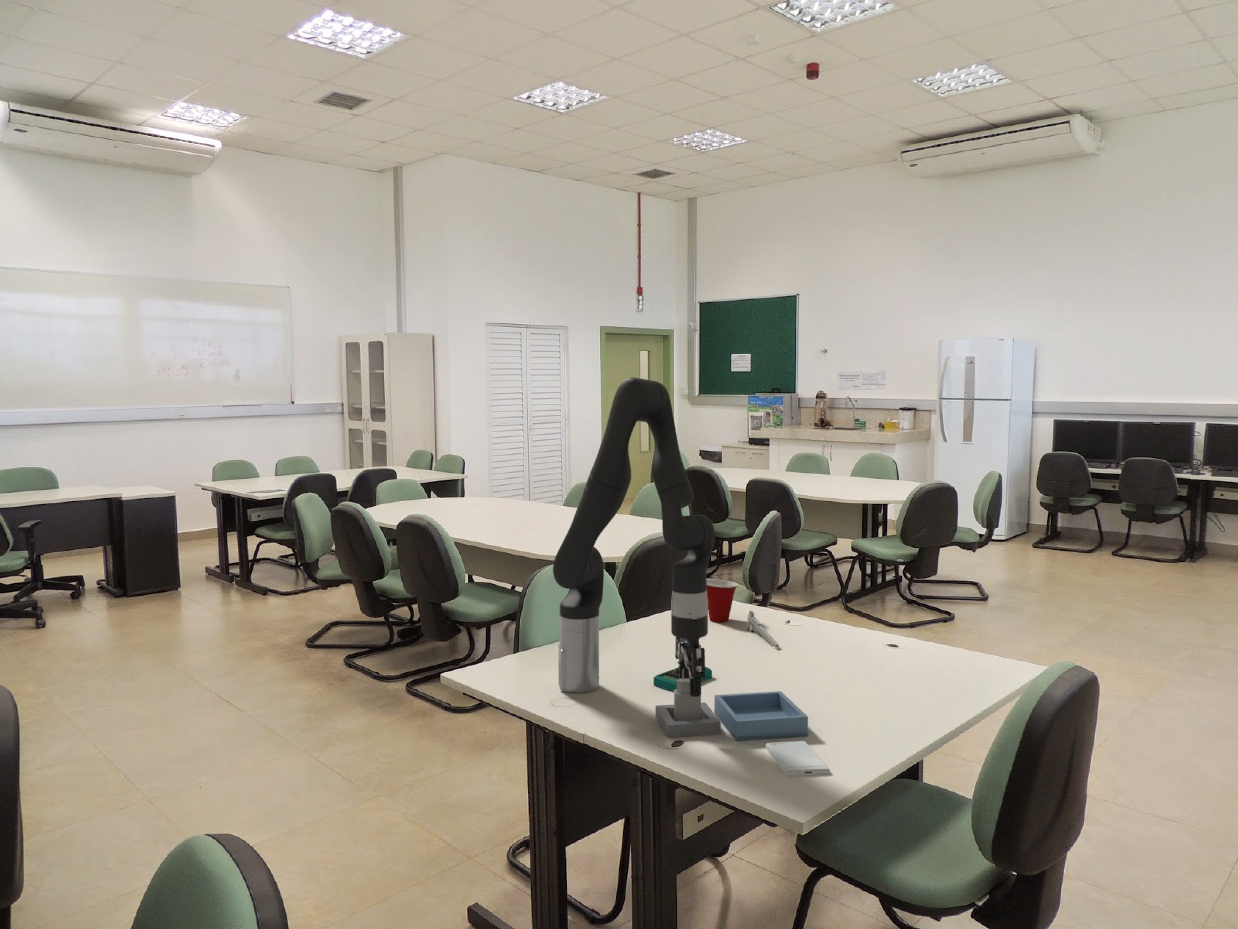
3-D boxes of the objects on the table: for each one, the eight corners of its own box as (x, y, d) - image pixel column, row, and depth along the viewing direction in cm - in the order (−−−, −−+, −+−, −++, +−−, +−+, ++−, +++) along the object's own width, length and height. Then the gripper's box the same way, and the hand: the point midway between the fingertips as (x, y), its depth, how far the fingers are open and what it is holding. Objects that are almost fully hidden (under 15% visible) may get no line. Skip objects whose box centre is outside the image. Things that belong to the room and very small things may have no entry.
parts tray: (736, 741, 168) (736, 721, 168) (714, 713, 183) (714, 695, 182) (807, 736, 171) (808, 716, 170) (780, 709, 185) (780, 691, 185)
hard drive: (765, 742, 165) (786, 770, 153) (805, 740, 166) (830, 767, 154) (765, 751, 165) (786, 779, 153) (805, 749, 166) (829, 776, 154)
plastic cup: (744, 621, 257) (745, 582, 256) (716, 626, 252) (717, 586, 251) (722, 613, 266) (722, 576, 265) (694, 618, 261) (695, 580, 260)
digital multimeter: (714, 678, 207) (714, 667, 206) (676, 694, 196) (676, 682, 195) (689, 672, 211) (690, 660, 211) (652, 687, 200) (652, 675, 200)
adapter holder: (667, 737, 170) (667, 725, 169) (655, 717, 180) (655, 705, 180) (720, 733, 172) (720, 721, 171) (705, 713, 182) (705, 702, 182)
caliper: (746, 630, 248) (747, 609, 248) (750, 630, 248) (750, 609, 248) (777, 651, 228) (777, 628, 228) (781, 651, 229) (781, 628, 228)
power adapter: (700, 728, 174) (701, 671, 173) (674, 728, 174) (675, 671, 174) (699, 722, 178) (700, 666, 177) (673, 722, 178) (674, 666, 177)
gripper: (663, 605, 181) (664, 679, 182) (680, 621, 167) (681, 702, 168) (697, 603, 182) (697, 677, 183) (717, 619, 168) (717, 699, 169)
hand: (689, 689), depth 175 cm, fingers open, 8 cm apart
